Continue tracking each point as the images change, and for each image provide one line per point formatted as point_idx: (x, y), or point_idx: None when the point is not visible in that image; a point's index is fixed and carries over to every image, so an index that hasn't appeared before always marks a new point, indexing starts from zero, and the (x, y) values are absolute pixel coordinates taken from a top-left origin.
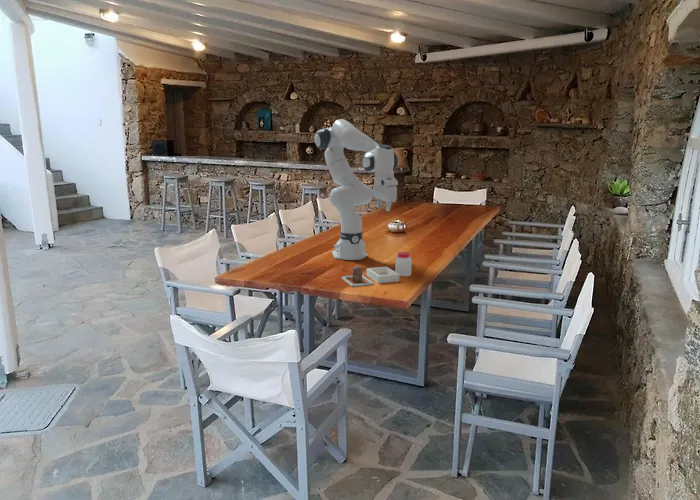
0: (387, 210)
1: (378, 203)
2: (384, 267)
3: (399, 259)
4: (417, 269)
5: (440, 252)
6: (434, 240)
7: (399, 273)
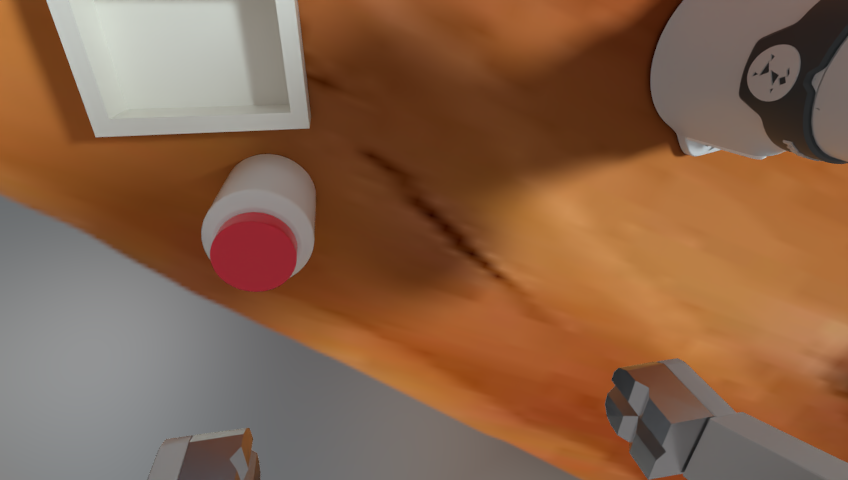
0: (166, 456)
1: (731, 441)
2: (290, 106)
3: (221, 205)
4: (363, 292)
5: (564, 429)
6: None
7: (232, 172)
